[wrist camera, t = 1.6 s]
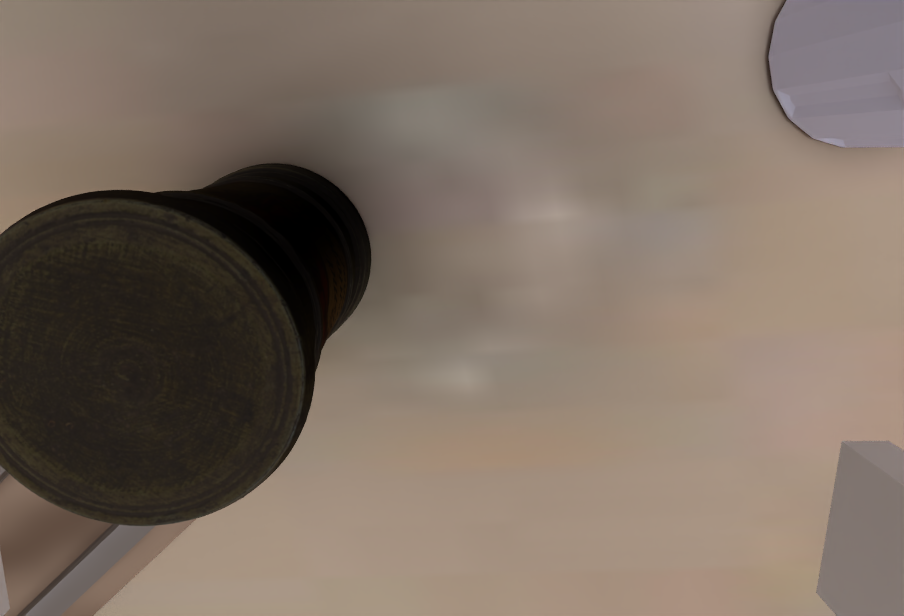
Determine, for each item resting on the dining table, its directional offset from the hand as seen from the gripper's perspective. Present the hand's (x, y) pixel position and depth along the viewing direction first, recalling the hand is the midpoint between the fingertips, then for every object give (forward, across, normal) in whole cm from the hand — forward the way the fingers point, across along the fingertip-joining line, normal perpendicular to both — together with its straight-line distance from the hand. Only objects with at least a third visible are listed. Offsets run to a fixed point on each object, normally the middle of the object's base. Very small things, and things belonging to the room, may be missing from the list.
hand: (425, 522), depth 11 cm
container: (+24, -7, 0) cm, 25 cm away
